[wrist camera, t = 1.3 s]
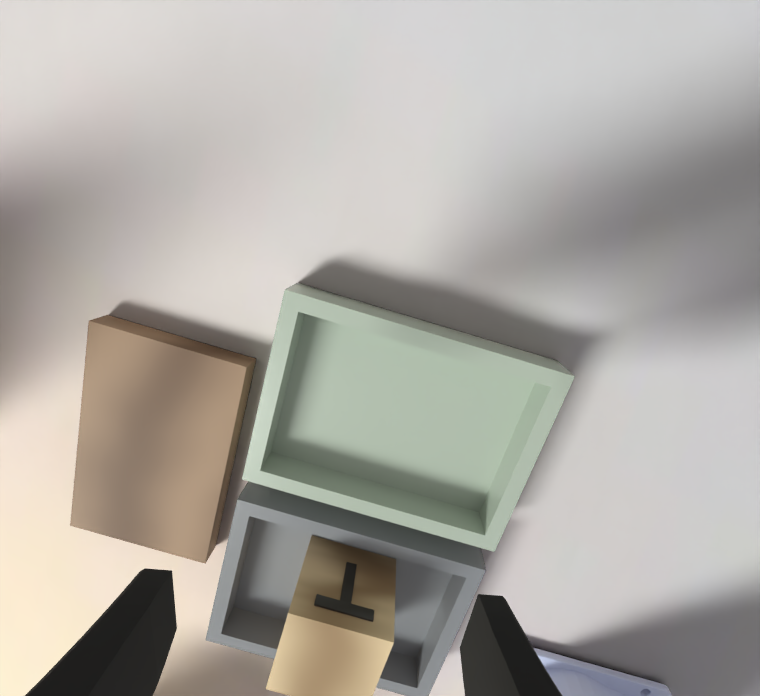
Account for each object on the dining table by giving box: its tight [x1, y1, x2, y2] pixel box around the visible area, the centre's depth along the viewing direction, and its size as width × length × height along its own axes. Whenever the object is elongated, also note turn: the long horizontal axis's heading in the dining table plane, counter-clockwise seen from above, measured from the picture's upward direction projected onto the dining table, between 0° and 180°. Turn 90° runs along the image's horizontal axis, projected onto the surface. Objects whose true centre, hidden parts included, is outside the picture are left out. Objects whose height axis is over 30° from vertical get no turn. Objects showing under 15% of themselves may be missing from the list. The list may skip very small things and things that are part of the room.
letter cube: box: [266, 535, 396, 696], centre depth 20 cm, size 4×5×4 cm
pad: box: [70, 315, 256, 563], centre depth 20 cm, size 7×11×1 cm, turn 163°
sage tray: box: [242, 283, 575, 552], centre depth 19 cm, size 12×9×2 cm
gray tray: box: [206, 481, 486, 696], centre depth 22 cm, size 12×9×2 cm
